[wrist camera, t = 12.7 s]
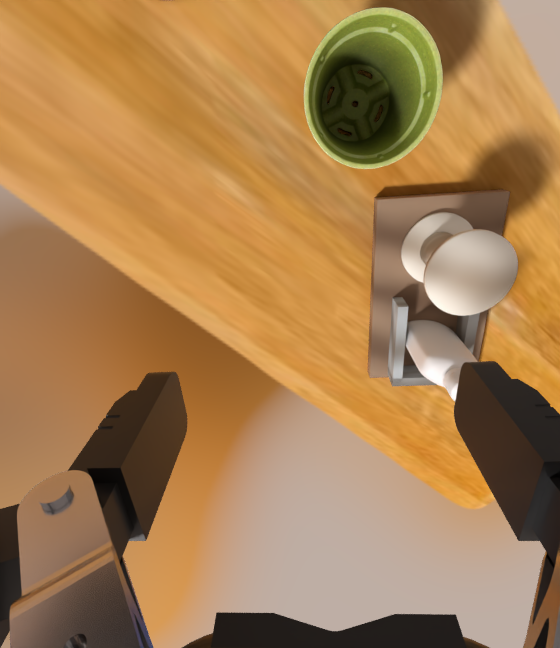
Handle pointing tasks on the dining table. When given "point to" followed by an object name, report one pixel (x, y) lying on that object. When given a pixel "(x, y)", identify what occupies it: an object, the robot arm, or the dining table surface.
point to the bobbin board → (403, 283)
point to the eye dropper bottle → (437, 353)
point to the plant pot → (373, 87)
